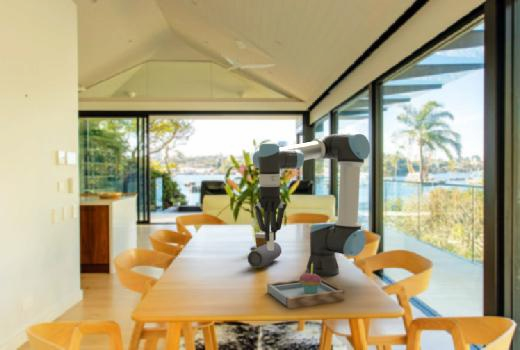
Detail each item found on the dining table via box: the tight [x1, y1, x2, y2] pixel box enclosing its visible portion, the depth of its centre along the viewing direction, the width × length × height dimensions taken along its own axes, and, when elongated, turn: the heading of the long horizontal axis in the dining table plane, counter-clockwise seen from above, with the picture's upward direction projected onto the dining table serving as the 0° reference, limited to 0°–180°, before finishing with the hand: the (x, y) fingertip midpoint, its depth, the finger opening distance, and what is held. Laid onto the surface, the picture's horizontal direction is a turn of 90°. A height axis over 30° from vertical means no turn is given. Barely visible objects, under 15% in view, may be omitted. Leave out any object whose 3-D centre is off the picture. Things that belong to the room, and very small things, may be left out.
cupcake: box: [298, 262, 322, 294], centre depth 149 cm, size 9×8×12 cm
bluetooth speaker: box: [247, 241, 282, 268], centre depth 195 cm, size 23×9×10 cm, turn 154°
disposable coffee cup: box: [254, 231, 267, 248], centre depth 219 cm, size 10×10×12 cm
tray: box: [268, 283, 336, 307], centre depth 148 cm, size 22×15×3 cm
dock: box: [267, 277, 345, 309], centre depth 148 cm, size 24×19×4 cm
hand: (270, 249), depth 143 cm, fingers closed
